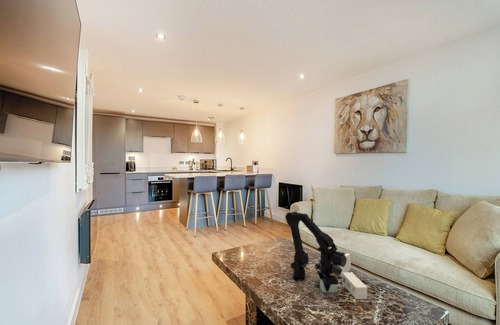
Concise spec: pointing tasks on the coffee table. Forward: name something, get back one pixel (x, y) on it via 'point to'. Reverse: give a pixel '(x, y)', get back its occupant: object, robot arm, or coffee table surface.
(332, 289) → the charger
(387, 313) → the coffee table surface
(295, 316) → the coffee table surface
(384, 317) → the coffee table surface
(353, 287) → the bar
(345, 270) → the cable organizer
